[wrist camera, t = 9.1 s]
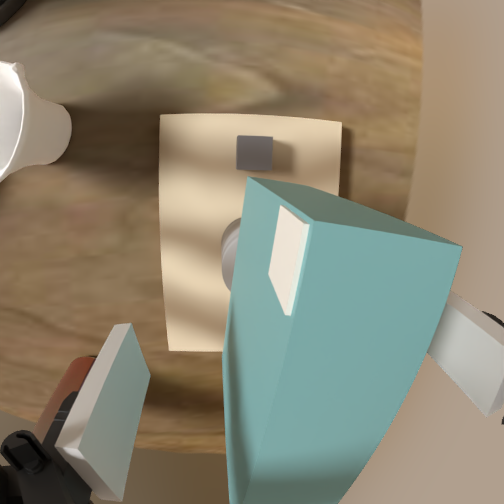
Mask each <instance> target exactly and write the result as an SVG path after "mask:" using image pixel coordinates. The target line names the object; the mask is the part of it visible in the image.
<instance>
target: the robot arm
mask: <svg viewBox="0 0 504 504" xmlns="http://www.w3.org/2000/svg"><path fill="white" fill-rule="evenodd" d="M25 1H26V0H0V26H1V25H2V24H3V23H4V22H6V21H7V20H8V19H9V18H10V17H11V16H12V15H13V14H14V13H15V12H16V11H17V10H18V9H19V8H20V7H21V6H22V5H23V4H24V2H25ZM427 353H428V354H429V355H430V356H431V357H432V358H433V359H434V360H435V362H436V363H437V364H438V365H439V366H440V367H441V368H442V369H443V370H444V371H445V372H446V373H447V374H448V375H449V377H450V378H451V379H452V380H453V381H454V382H455V383H456V384H457V385H458V386H459V387H460V389H461V390H462V391H463V392H464V393H465V394H466V395H467V396H468V397H469V398H470V400H471V401H472V402H473V403H474V404H475V405H476V406H477V407H478V409H479V410H480V411H481V412H482V413H483V414H484V415H485V417H488V416H490V415H491V414H493V413H495V412H496V411H498V410H499V409H501V407H502V405H503V403H504V323H503V322H502V321H501V320H500V319H498V318H497V317H496V316H494V315H492V314H489V313H486V312H484V311H482V312H481V311H480V310H478V309H477V308H475V307H474V306H473V305H471V304H470V303H468V302H467V301H466V300H464V299H463V298H461V297H460V296H458V295H457V294H455V293H454V292H452V291H451V290H450V292H449V295H448V298H447V301H446V304H445V307H444V309H443V312H442V315H441V318H440V320H439V323H438V326H437V328H436V331H435V333H434V336H433V338H432V341H431V343H430V345H429V348H428V350H427ZM150 376H151V375H150V373H149V370H148V368H147V365H146V362H145V360H144V357H143V355H142V352H141V349H140V346H139V344H138V341H137V338H136V335H135V332H134V329H133V326H132V323H126V324H118V325H114V327H113V329H112V331H111V333H110V334H109V336H108V338H107V340H106V342H105V344H104V345H103V347H102V349H101V351H100V353H99V355H98V357H97V359H96V360H95V362H94V364H93V366H92V368H91V370H90V372H89V374H88V376H87V378H86V380H85V382H84V384H83V386H82V388H81V390H80V391H72V392H71V393H70V394H69V395H68V396H67V397H66V398H65V399H64V400H63V402H62V404H61V406H60V408H59V410H58V413H57V414H56V416H55V418H54V421H53V422H52V424H51V426H50V428H49V430H48V432H47V434H46V436H45V438H44V440H43V442H42V444H41V443H40V442H39V440H38V439H37V438H36V436H35V435H34V434H33V433H31V432H30V431H26V430H21V431H16V432H14V433H12V434H10V435H9V436H8V437H7V438H6V439H5V440H4V441H3V443H2V445H1V449H0V453H1V454H2V456H3V457H4V458H5V459H6V460H7V461H8V463H9V464H10V465H11V466H1V465H0V504H93V502H92V501H91V500H90V495H91V492H92V491H93V492H94V493H95V494H96V495H97V496H98V497H99V498H100V499H102V500H111V501H121V502H122V500H123V494H124V489H125V484H126V479H127V474H128V469H129V464H130V460H131V455H132V450H133V446H134V441H135V437H136V433H137V428H138V424H139V420H140V416H141V412H142V407H143V403H144V399H145V395H146V392H147V388H148V384H149V380H150ZM502 424H504V417H503V419H502Z"/></svg>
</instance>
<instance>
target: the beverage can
mask: <svg viewBox="0 0 504 504" xmlns="http://www.w3.org/2000/svg"><path fill="white" fill-rule="evenodd" d="M96 359H97V358H95V357H89V356H86V357H80V358H77V359H75V360H74V361H73V362H72V363H71V364H70V366H69V368H68V369H67V371H66V373H65V374H64V376H63V378H62V379H61V381H60V383H59V384H58V386H57V388H56V390H55V391H54V393H53V395H52V397H51V398H50V400H49V402H48V404H47V406H46V407H45V409H44V411H43V413H42V415H41V416H40V418H39V420H38V422H37V424H36V426H35V428H34V430H33V432H32V433H33V434H34V435H35V436H36V438H37V439H38V440H39V442H40V443H41V444H42V442H43V440H44V438H45V436H46V434H47V432H48V430H49V428H50V426H51V424H52V422H53V421H54V418H55V416H56V414H57V413H58V410H59V408H60V406H61V404H62V402H63V400H64V399H65V398H66V397H67V396H68V395H69V394H70V393H71V392H72V391H80V390H81V388H82V386H83V384H84V382H85V380H86V378H87V376H88V374H89V372H90V370H91V368H92V366H93V364H94V362H95V360H96Z"/></svg>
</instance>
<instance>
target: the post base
mask: <svg viewBox="0 0 504 504" xmlns="http://www.w3.org/2000/svg"><path fill="white" fill-rule="evenodd" d="M341 132H342V122H335V121H327V120H318V119H308V118H298V117H285V116H271V115H251V114H165V115H160V135H159V216H160V243H161V263H162V278H163V292H164V304H165V315H166V326H167V335H168V344H169V351H223V347H224V339H225V331H226V324H227V316H228V309H229V302H230V294H231V287H232V280H233V273H234V265H235V258H236V251H237V244H238V237H239V230H240V223H241V216H242V210H243V203H244V196H245V189H246V183H247V176H250V177H257V178H264V179H271V180H277V181H283V182H290V183H296V184H301V185H307V186H310V187H313V188H316V189H319V190H322V191H325V192H327V193H330V194H333V195H336V196H338V192H339V176H340V157H341Z"/></svg>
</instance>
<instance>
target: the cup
mask: <svg viewBox="0 0 504 504" xmlns="http://www.w3.org/2000/svg"><path fill="white" fill-rule="evenodd" d="M71 131H72V124H71V118H70V115H69V113H68V112H67V110H66V109H65V108H64V107H63V106H62V105H59V104H56V103H53V102H50V101H47V100H44V99H42V98H40V97H38V96H37V95H36V94H35V93H34V92H33V91H32V90H31V89H30V88H29V86H28V83H27V81H26V78H25V70H24V65H23V64H21V63H18V62H15V63H13V64H11V63H8V62H5V61H0V182H1V181H2V180H3V179H4V178H6V177H7V176H8V175H9V174H11V173H13V172H15V171H17V170H19V169H21V168H22V167H26V166H30V165H36V164H41V165H47V164H49V163H52V162H54V161H56V160H57V159H58V158H59V157H60V156H61V155H62V154H63V153H64V151H65V149H66V148H67V146H68V144H69V140H70V137H71Z"/></svg>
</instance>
